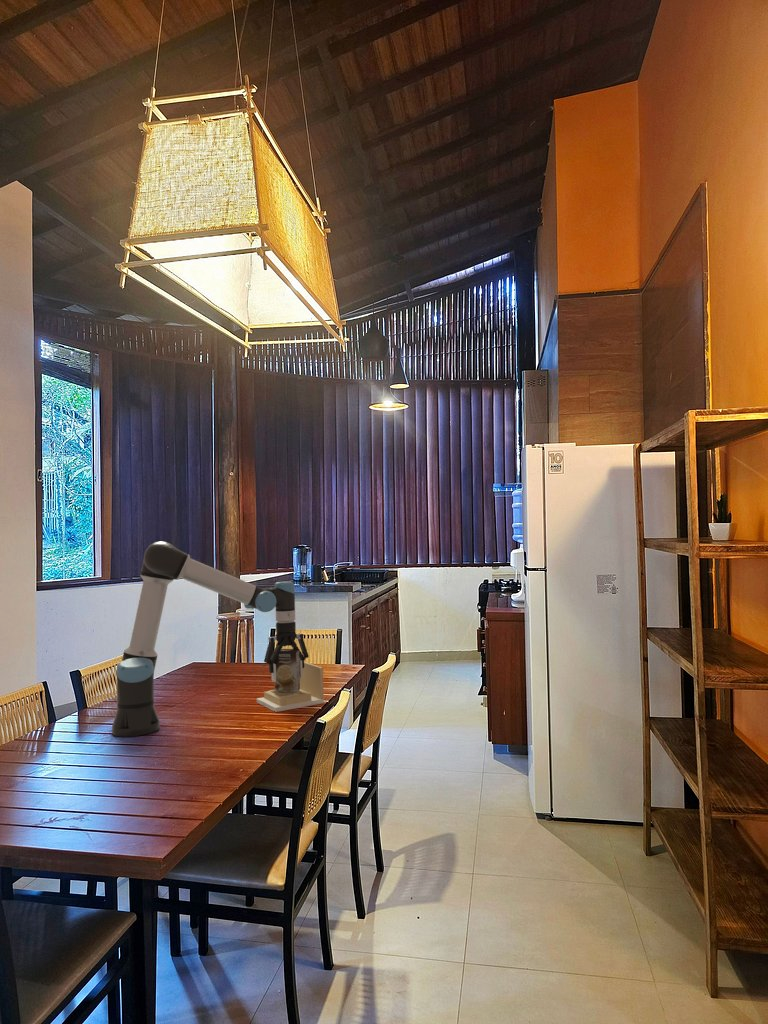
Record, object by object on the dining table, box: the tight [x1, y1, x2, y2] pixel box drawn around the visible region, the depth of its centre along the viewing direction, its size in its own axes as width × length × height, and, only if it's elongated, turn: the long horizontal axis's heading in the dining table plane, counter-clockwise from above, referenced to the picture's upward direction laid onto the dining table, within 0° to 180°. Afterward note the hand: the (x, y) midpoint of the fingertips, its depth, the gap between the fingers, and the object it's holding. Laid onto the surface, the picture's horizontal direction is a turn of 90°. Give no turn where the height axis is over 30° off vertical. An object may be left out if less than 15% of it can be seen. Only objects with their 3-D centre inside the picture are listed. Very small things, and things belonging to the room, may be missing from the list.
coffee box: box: [273, 648, 300, 693], centre depth 251 cm, size 9×6×16 cm
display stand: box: [256, 661, 325, 713], centre depth 251 cm, size 20×18×14 cm
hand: (287, 679), depth 251 cm, fingers closed on coffee box, 10 cm apart
